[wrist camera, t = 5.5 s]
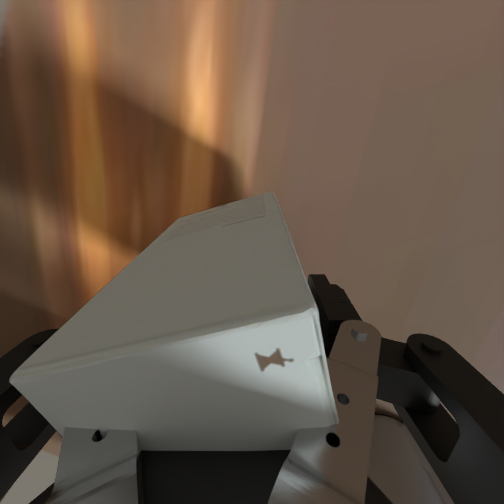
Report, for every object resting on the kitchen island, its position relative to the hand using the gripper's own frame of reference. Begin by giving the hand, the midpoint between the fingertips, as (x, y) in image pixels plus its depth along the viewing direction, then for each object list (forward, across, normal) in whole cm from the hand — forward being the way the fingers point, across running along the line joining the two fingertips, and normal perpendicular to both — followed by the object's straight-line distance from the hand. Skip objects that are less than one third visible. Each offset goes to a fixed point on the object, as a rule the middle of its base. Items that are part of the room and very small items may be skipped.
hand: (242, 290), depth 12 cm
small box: (+3, 0, 0) cm, 3 cm away
